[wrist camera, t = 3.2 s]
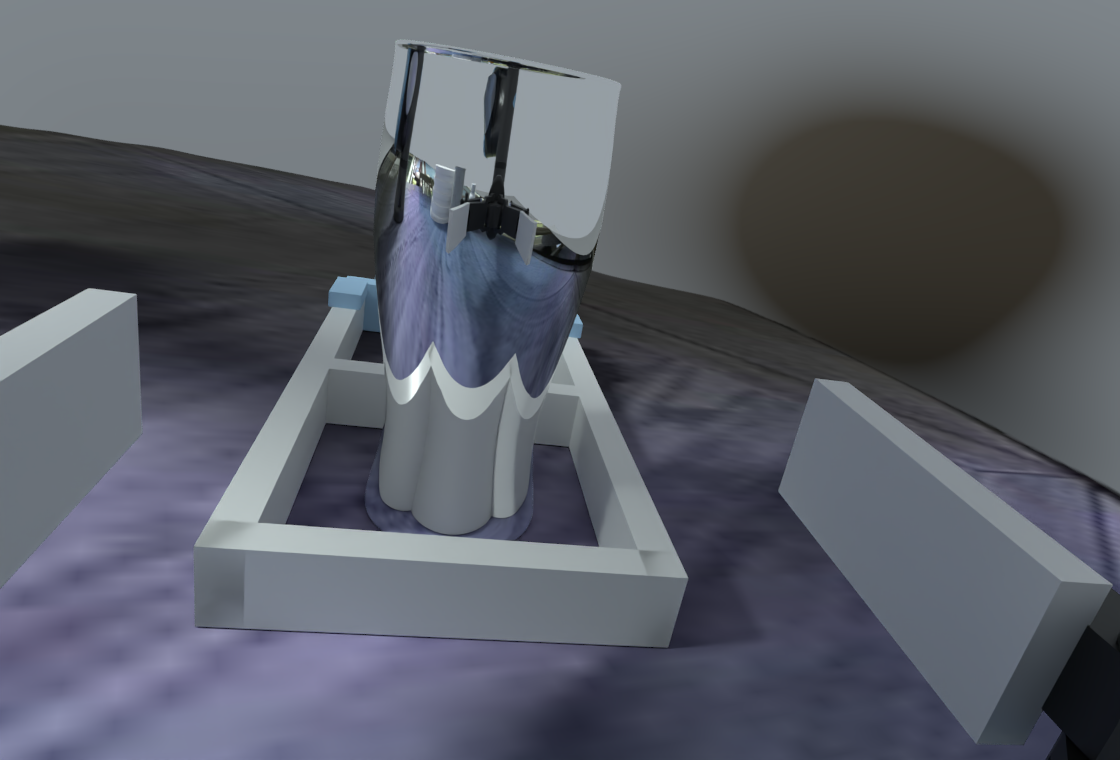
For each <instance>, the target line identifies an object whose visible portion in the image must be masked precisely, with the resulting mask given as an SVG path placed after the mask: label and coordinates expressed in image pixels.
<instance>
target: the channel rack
mask: <svg viewBox="0 0 1120 760" xmlns="http://www.w3.org/2000/svg"><path fill="white" fill-rule="evenodd" d="M364 309H365V300H364V303H363V305H362V307H361V309H360V310H354V309H346V308H338V307H332V308H331V310H330V312H329V314H328V315H327V317H326V319H325V321H324V322H323V324H322V326H321V327H320V329H319V331H318V333H317V334H316V336H315V338H314V340H313V341H312V343H311V345H310V346H309V348H308V350H307V352H306V353H305V355H304V357H303V359H302V360H301V362H300V364H299V365H298V367H297V369H296V371H295V372H294V374H293V376H292V378H291V379H290V381H289V383H288V384H287V386H286V388H285V390H284V391H283V393H282V395H281V397H280V398H279V400H278V402H277V403H276V405H275V407H274V409H273V410H272V412H271V414H270V416H269V417H268V419H267V421H266V422H265V424H264V426H263V428H262V429H261V431H260V433H259V435H258V436H257V438H256V440H255V441H254V443H253V445H252V447H251V448H250V450H249V452H248V454H247V455H246V457H245V459H244V460H243V462H242V464H241V466H240V467H239V469H238V471H237V473H236V474H235V476H234V478H233V479H232V481H231V483H230V485H229V486H228V488H227V490H226V492H225V493H224V495H223V497H222V498H221V500H220V502H219V504H218V505H217V507H216V509H215V511H214V512H213V514H212V516H211V517H210V519H209V521H208V523H207V524H206V526H205V528H204V529H203V531H202V533H201V535H200V536H199V538H198V540H197V542H196V543H195V545H194V603H195V626H196V627H219V628H241V629H263V630H286V631H308V632H330V633H353V634H375V635H397V636H420V637H442V638H464V639H486V640H509V641H531V642H553V643H576V644H598V645H620V646H643V647H665V648H668V646H669V643H670V639H671V636H672V633H673V629H674V626H675V622H676V619H677V615H678V612H679V609H680V605H681V602H682V598H683V595H684V592H685V588H686V585H687V581H688V576H687V574H686V572H685V570H684V568H683V566H682V563H681V561H680V559H679V557H678V555H677V553H676V551H675V548H674V546H673V544H672V542H671V540H670V538H669V535H668V533H667V531H666V529H665V527H664V525H663V522H662V520H661V518H660V516H659V514H658V512H657V510H656V507H655V505H654V503H653V501H652V499H651V497H650V494H649V492H648V490H647V488H646V486H645V484H644V481H643V479H642V477H641V475H640V473H639V471H638V469H637V466H636V464H635V462H634V460H633V458H632V456H631V453H630V451H629V449H628V447H627V445H626V443H625V440H624V438H623V436H622V434H621V432H620V430H619V428H618V425H617V423H616V421H615V419H614V417H613V415H612V412H611V410H610V408H609V406H608V404H607V402H606V399H605V397H604V395H603V393H602V391H601V389H600V387H599V384H598V382H597V380H596V378H595V376H594V374H593V371H592V369H591V367H590V365H589V363H588V361H587V358H586V356H585V354H584V352H583V350H582V348H581V346H580V343H579V341H578V339H577V338H574V337H568V340H567V342H566V345H565V348H564V350H563V353H562V355H561V358H560V360H559V363H558V366H557V368H556V371H555V373H554V376H553V378H552V381H551V384H550V387H549V389H548V392H547V395H546V398H545V401H544V403H543V406H542V409H541V413H540V417H539V421H538V425H537V429H536V435H535V442H534V443H536V444H547V445H557V446H567V447H569V448H570V452H571V455H572V458H573V462H574V465H575V468H576V472H577V475H578V478H579V482H580V485H581V488H582V491H583V495H584V498H585V501H586V505H587V508H588V511H589V515H590V518H591V521H592V525H593V528H594V531H595V535H596V538H597V541H598V545H599V547H592V546H578V545H564V544H550V543H536V542H522V541H508V540H494V539H480V538H466V537H452V536H438V535H424V534H410V533H396V532H382V531H368V530H354V529H340V528H326V527H312V526H298V525H285V524H286V521H287V519H288V516H289V514H290V511H291V509H292V506H293V504H294V501H295V499H296V496H297V494H298V491H299V489H300V486H301V484H302V481H303V479H304V476H305V474H306V471H307V469H308V466H309V464H310V461H311V459H312V456H313V454H314V451H315V449H316V446H317V444H318V441H319V439H320V436H321V434H322V431H323V429H324V426H325V424H326V423H332V424H342V425H352V426H363V427H373V428H382V427H383V419H384V412H385V377H384V364H380V363H371V362H363V361H354V360H351V359H352V356H353V354H354V351H355V349H356V346H357V343H358V341H359V338H360V336H361V333H362V331H363V322H364Z"/></svg>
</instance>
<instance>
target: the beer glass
mask: <svg viewBox="0 0 1120 760" xmlns="http://www.w3.org/2000/svg"><path fill="white" fill-rule="evenodd" d="M620 89H621V84H620V83H618V82H616V81H613V80H610V79H607V78H603V77H599V76H596V75H592V74H588V73H583V72H579V71H575V70H570V69H566V68H561V67H557V66H552V65H547V64H542V63H537V62H532V61H528V60H523V59H518V58H513V57H508V56H503V55H497V54H492V53H487V52H482V51H476V50H471V49H465V48H459V47H453V46H447V45H441V44H435V43H428V42H421V41H413V40H396V42H395V56H394V64H393V71H392V77H391V83H390V89H389V94H388V100H387V106H386V112H385V118H384V125H383V132H382V139H381V145H380V153H379V162H378V171H377V181H376V189H375V210H374V232H373V236H374V261H375V281H376V292H377V303H378V314H379V324H380V334H381V343H382V353H383V364H384V377H385V412H384V419H383V427H382V432H381V437H380V441H379V445H378V449H377V452H376V455H375V458H374V462H373V465H372V468H371V471H370V474H369V478H368V481H367V485H366V490H365V496H364V500H365V507H366V511H367V513H368V515H369V517H370V519H371V520H372V522H373V523H374V524H375V525H376V526H377V527H378V528H379V529H380V530H382V531H383V532H396V533H410V534H424V535H438V536H452V537H466V538H480V539H494V540H508V541H514V540H515V539H517V538H518V537H519V536H521V535H522V534H523V533H524V532H525V530H526V529H527V527H528V526H529V524H530V521H531V519H532V515H533V502H534V493H533V450H534V442H535V435H536V429H537V425H538V421H539V417H540V413H541V409H542V406H543V403H544V401H545V398H546V395H547V392H548V389H549V387H550V384H551V381H552V378H553V376H554V373H555V371H556V368H557V366H558V363H559V360H560V358H561V355H562V353H563V350H564V348H565V345H566V342H567V340H568V337H569V334H570V332H571V329H572V326H573V324H574V321H575V318H576V316H577V313H578V310H579V307H580V304H581V301H582V298H583V295H584V292H585V289H586V285H587V282H588V279H589V276H590V273H591V270H592V266H593V261H594V257H595V253H596V248H597V244H598V239H599V235H600V231H601V225H602V219H603V214H604V207H605V202H606V195H607V190H608V183H609V174H610V166H611V158H612V150H613V141H614V130H615V121H616V113H617V105H618V98H619V93H620Z"/></svg>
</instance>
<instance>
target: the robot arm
mask: <svg viewBox="0 0 1120 760" xmlns="http://www.w3.org/2000/svg"><path fill="white" fill-rule="evenodd" d="M142 434H143V431H142V408H141V385H140V362H139V338H138V315H137V294H132V293H124V292H116V291H108V290H99V289H91V288H88V289H86V290H84V291H83V292H81V293H79V294H77V295H75V296H73V297H72V298H70V299H68V300H66V301H64V302H62V303H60V304H59V305H57V306H55V307H53V308H51V309H49V310H48V311H46V312H44V313H42V314H40V315H38V316H36V317H35V318H33V319H31V320H29V321H27V322H25V323H24V324H22V325H20V326H18V327H16V328H14V329H13V330H11V331H9V332H7V333H5V334H3V335H1V336H0V589H1V588H2V587H3V586H4V584H5V583H6V582H7V581H8V580H9V579H10V578H11V577H12V576H13V575H14V574H15V572H16V571H17V570H18V569H19V568H20V567H21V566H22V565H23V564H24V563H25V562H26V560H27V559H28V558H29V557H30V556H31V555H32V554H33V553H34V552H35V551H36V550H37V548H38V547H39V546H40V545H41V544H42V543H43V542H44V541H45V540H46V539H47V537H48V536H49V535H50V534H51V533H52V532H53V531H54V530H55V529H56V528H57V527H58V525H59V524H60V523H61V522H62V521H63V520H64V519H65V518H66V517H67V516H68V515H69V513H70V512H71V511H72V510H73V509H74V508H75V507H76V506H77V505H78V504H79V503H80V501H81V500H82V499H83V498H84V497H85V496H86V495H87V494H88V493H89V492H90V491H91V489H92V488H93V487H94V486H95V485H96V484H97V483H98V482H99V481H100V480H101V479H102V477H103V476H104V475H105V474H106V473H107V472H108V471H109V470H110V469H111V468H112V467H113V465H114V464H115V463H116V462H117V461H118V460H119V459H120V458H121V457H122V456H123V455H124V453H125V452H126V451H127V450H128V449H129V448H130V447H131V446H132V445H133V444H134V443H135V441H136V440H137V439H138V438H139V437H140V436H141V435H142ZM778 492H779V493H780V495H781V496H782V497H783V498H784V500H785V501H786V502H787V503H788V505H789V506H790V507H791V509H792V510H793V511H794V512H795V514H796V515H797V516H798V517H799V519H800V520H801V521H802V523H803V524H804V525H805V526H806V528H807V529H808V530H809V532H810V533H811V534H812V535H813V537H814V538H815V539H816V540H817V542H818V543H819V544H820V546H821V547H822V548H823V549H824V551H825V552H826V553H827V554H828V556H829V557H830V558H831V560H832V561H833V562H834V563H835V565H836V566H837V567H838V569H839V570H840V571H841V572H842V574H843V575H844V576H845V577H846V579H847V580H848V581H849V583H850V584H851V585H852V586H853V588H854V589H855V590H856V591H857V593H858V594H859V595H860V597H861V598H862V599H863V600H864V602H865V603H866V604H867V605H868V607H869V608H870V609H871V611H872V612H873V613H874V614H875V616H876V617H877V618H878V620H879V621H880V622H881V623H882V625H883V626H884V627H885V628H886V630H887V631H888V632H889V634H890V635H891V636H892V637H893V639H894V640H895V641H896V642H897V644H898V645H899V646H900V648H901V649H902V650H903V651H904V653H905V654H906V655H907V657H908V658H909V659H910V660H911V662H912V663H913V664H914V665H915V667H916V668H917V669H918V671H919V672H920V673H921V674H922V676H923V677H924V678H925V679H926V681H927V682H928V683H929V685H930V686H931V687H932V688H933V690H934V691H935V692H936V694H937V695H938V696H939V697H940V699H941V700H942V701H943V702H944V704H945V705H946V706H947V708H948V709H949V710H950V711H951V713H952V714H953V715H954V716H955V718H956V719H957V720H958V722H959V723H960V724H961V725H962V727H963V728H964V729H965V730H966V732H967V733H968V734H969V736H970V737H971V738H972V739H973V741H974V742H975V743H976V744H997V745H1024V743H1025V742H1026V740H1027V738H1028V736H1029V734H1030V733H1031V731H1032V729H1033V727H1034V725H1035V724H1036V722H1037V720H1038V718H1039V716H1040V715H1041V713H1042V711H1044V712H1045V713H1046V714H1047V715H1048V716H1049V717H1050V718H1051V719H1052V720H1053V721H1054V722H1055V723H1056V725H1057V726H1058V727H1059V728H1060V729H1061V730H1062V732H1061V734H1060V736H1059V738H1058V739H1057V741H1056V743H1055V745H1054V746H1053V748H1052V750H1051V751H1050V753H1049V755H1048V757H1047V758H1046V760H1120V595H1119V594H1118V593H1117V592H1116V591H1114V590H1113V589H1112V588H1111V587H1112V586H1113V585H1112V584H1111V583H1110V582H1109V581H1107V580H1106V579H1105V578H1103V577H1102V576H1101V575H1099V574H1098V573H1097V572H1095V571H1094V570H1093V569H1092V568H1090V567H1089V566H1088V565H1086V564H1085V563H1084V562H1082V561H1081V560H1080V559H1078V558H1077V557H1076V556H1075V555H1073V554H1072V553H1071V552H1069V551H1068V550H1067V549H1065V548H1064V547H1063V546H1061V545H1060V544H1059V543H1057V542H1056V541H1055V540H1054V539H1052V538H1051V537H1050V536H1048V535H1047V534H1046V533H1044V532H1043V531H1042V530H1040V529H1039V528H1038V527H1037V526H1035V525H1034V524H1033V523H1031V522H1030V521H1029V520H1027V519H1026V518H1025V517H1023V516H1022V515H1021V514H1020V513H1018V512H1017V511H1016V510H1014V509H1013V508H1012V507H1010V506H1009V505H1008V504H1006V503H1005V502H1004V501H1003V500H1001V499H1000V498H999V497H997V496H996V495H995V494H993V493H992V492H991V491H989V490H988V489H987V488H985V487H984V486H983V485H982V484H980V483H979V482H978V481H976V480H975V479H974V478H972V477H971V476H970V475H968V474H967V473H966V472H965V471H963V470H962V469H961V468H959V467H958V466H957V465H955V464H954V463H953V462H951V461H950V460H949V459H948V458H946V457H945V456H944V455H942V454H941V453H940V452H938V451H937V450H936V449H934V448H933V447H932V446H931V445H929V444H928V443H927V442H925V441H924V440H923V439H921V438H920V437H919V436H917V435H916V434H915V433H914V432H912V431H911V430H910V429H908V428H907V427H906V426H904V425H903V424H902V423H900V422H899V421H898V420H896V419H895V418H894V417H893V416H891V415H890V414H889V413H887V412H886V411H885V410H883V409H882V408H881V407H879V406H878V405H877V404H876V403H874V402H873V401H872V400H870V399H869V398H868V397H866V396H865V395H864V394H862V393H861V392H860V391H859V390H857V389H856V388H855V387H853V386H852V385H851V384H849V383H848V382H840V381H832V380H824V379H816V378H815V381H814V384H813V387H812V390H811V393H810V396H809V399H808V402H807V405H806V408H805V411H804V414H803V417H802V420H801V423H800V426H799V429H798V432H797V435H796V438H795V441H794V444H793V447H792V450H791V454H790V457H789V460H788V463H787V466H786V469H785V472H784V475H783V478H782V481H781V484H780V487H779V490H778Z"/></svg>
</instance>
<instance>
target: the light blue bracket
mask: <svg viewBox="0 0 1120 760" xmlns="http://www.w3.org/2000/svg"><path fill="white" fill-rule="evenodd" d="M364 300H365V309H364V322H363V330H366V331H374V332H380V324H379V314H378V303H377V292H376V281H375V279H367V278H360V277H353V276H347V278H344V277H338V278H337V280H336V281H335V283H334V284H333V286H332V287H331V289H330V291H329V300H328V306H330V307H338V308H346V309H354V310H360V309H361V307H362V305H363V303H364ZM582 327H583V324H582V322H581V320H580V318H579V316H578V314H577V316H576V318H575V321H574V324H573V326H572V329H571V332H570V334H569V337H574V338H580V337H581V332H582Z"/></svg>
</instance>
